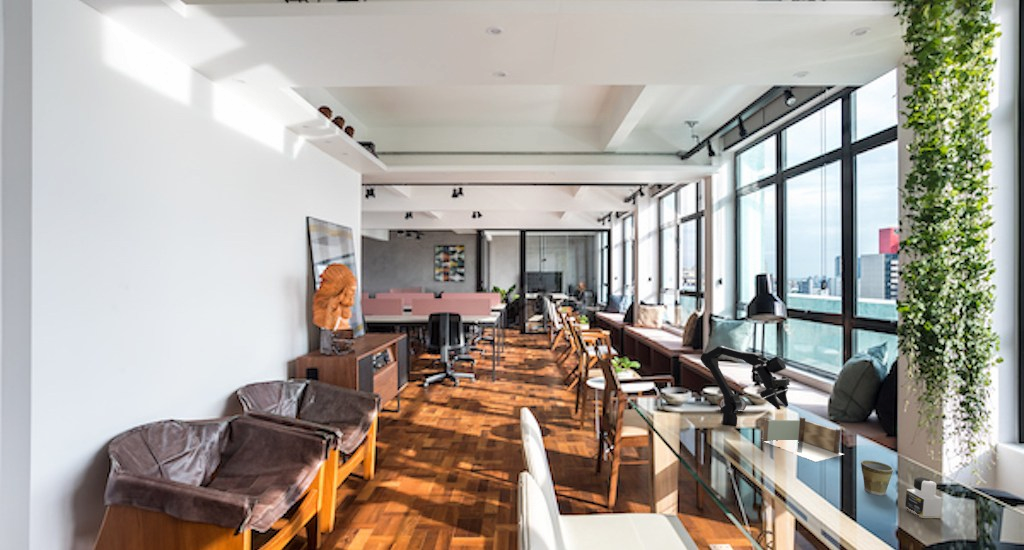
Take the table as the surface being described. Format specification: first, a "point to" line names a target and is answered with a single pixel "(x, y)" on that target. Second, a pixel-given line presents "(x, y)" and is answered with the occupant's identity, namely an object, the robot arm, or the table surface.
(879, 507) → the table surface
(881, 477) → the ceramic cup
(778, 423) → the folding panel
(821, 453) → the card
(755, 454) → the table surface
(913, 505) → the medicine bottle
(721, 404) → the tin
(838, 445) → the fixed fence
